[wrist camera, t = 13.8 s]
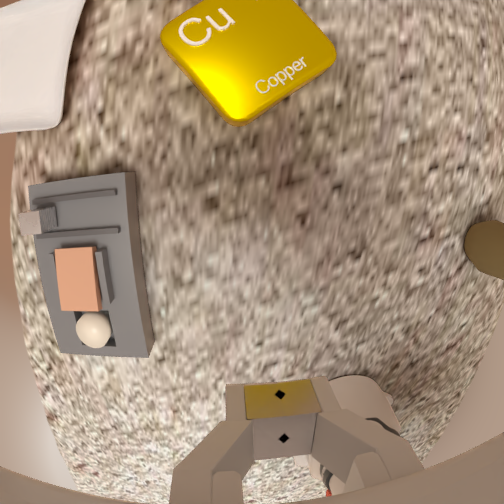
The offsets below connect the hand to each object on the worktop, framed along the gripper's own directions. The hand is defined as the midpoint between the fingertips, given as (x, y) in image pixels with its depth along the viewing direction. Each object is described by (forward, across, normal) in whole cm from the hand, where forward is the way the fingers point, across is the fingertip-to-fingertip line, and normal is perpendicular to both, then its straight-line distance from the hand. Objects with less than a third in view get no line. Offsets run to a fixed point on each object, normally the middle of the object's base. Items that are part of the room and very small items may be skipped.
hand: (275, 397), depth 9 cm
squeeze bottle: (+29, -36, +3) cm, 47 cm away
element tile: (+30, -1, -21) cm, 36 cm away
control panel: (+29, +18, +4) cm, 35 cm away
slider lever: (+25, +22, -3) cm, 34 cm away
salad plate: (+30, +30, -25) cm, 49 cm away
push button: (+27, +18, +11) cm, 35 cm away
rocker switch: (+24, +18, +4) cm, 30 cm away
